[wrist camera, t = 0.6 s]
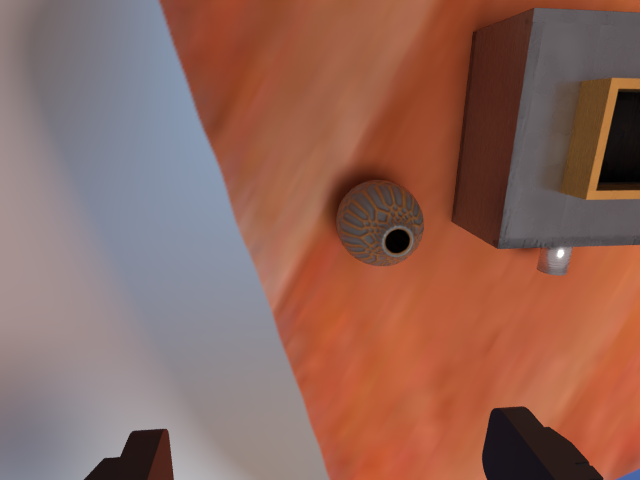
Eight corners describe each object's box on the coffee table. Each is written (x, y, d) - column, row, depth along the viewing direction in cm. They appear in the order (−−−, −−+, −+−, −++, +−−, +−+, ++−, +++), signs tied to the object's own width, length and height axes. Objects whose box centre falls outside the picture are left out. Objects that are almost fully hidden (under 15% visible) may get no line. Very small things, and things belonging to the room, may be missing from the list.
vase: (319, 234, 36) (334, 270, 28) (348, 162, 35) (373, 178, 26) (386, 258, 38) (419, 298, 30) (417, 190, 36) (461, 213, 28)
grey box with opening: (473, 32, 33) (562, -4, 23) (648, 38, 35) (801, 8, 25) (447, 257, 39) (509, 307, 29) (598, 252, 41) (705, 298, 31)
